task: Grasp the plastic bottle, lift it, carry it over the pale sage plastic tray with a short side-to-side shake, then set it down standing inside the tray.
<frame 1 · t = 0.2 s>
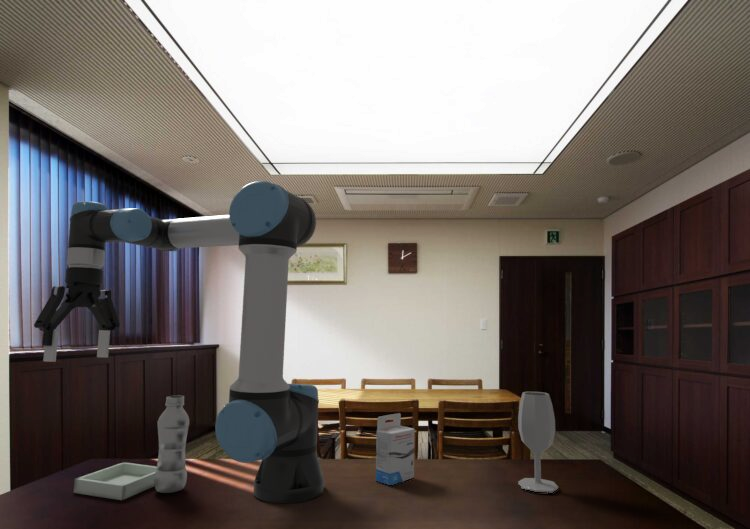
hand: (77, 359, 110), 28 cm above the table, fingers open, 13 cm apart
wineglass: (538, 489, 108), on the table
ink box: (395, 481, 112), on the table
plastic bottle: (169, 492, 103), on the table
tray: (122, 486, 106), on the table
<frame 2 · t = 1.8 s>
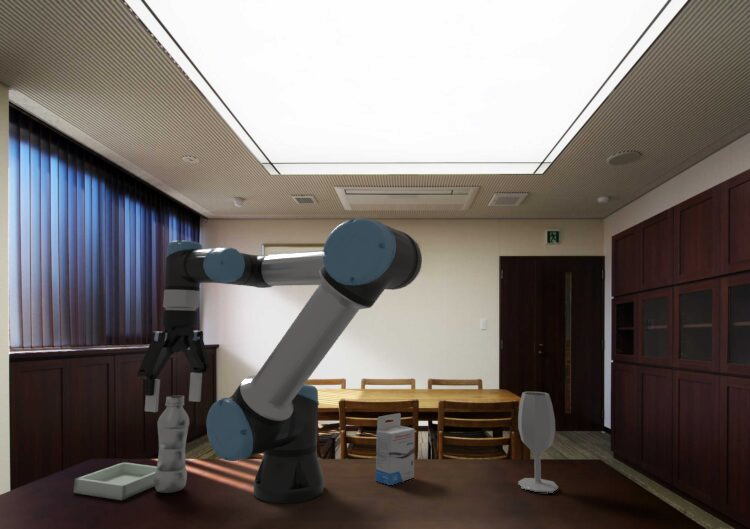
hand: (174, 406, 105), 18 cm above the table, fingers open, 13 cm apart
nothing on the table moved.
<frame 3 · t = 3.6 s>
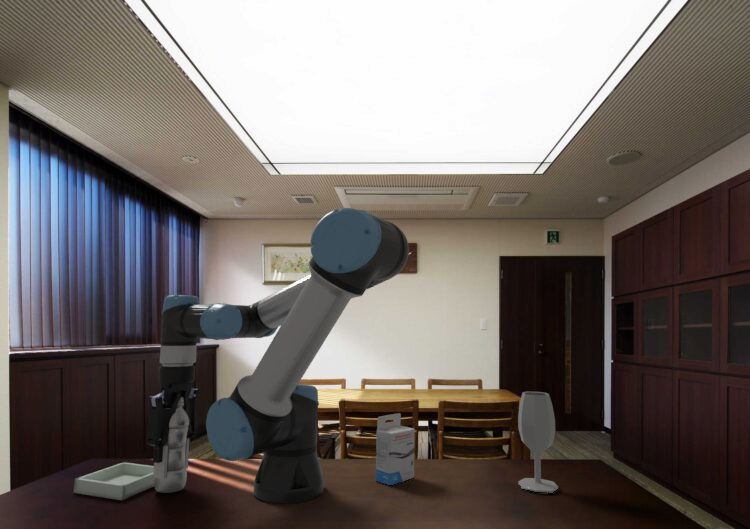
hand: (171, 472, 104), 4 cm above the table, fingers closed on plastic bottle, 6 cm apart
plastic bottle: (169, 492, 103), on the table, touching gripper
everything else where it was.
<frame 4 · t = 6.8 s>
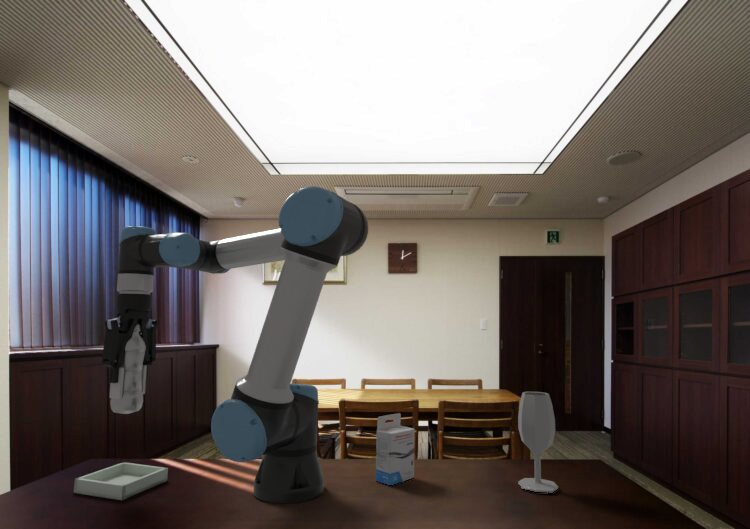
hand: (127, 395, 108), 20 cm above the table, fingers closed on plastic bottle, 6 cm apart
plastic bottle: (126, 414, 107), point 16 cm above the table, touching gripper
everything else where it was.
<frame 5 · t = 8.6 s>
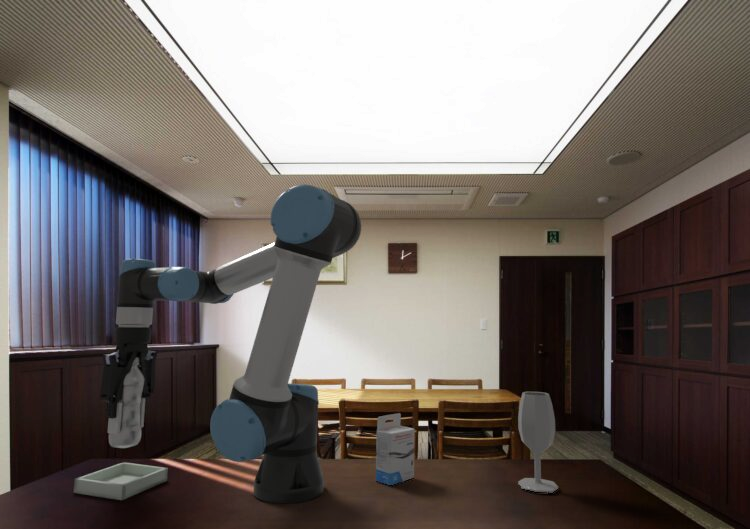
hand: (125, 429, 107), 12 cm above the table, fingers closed on plastic bottle, 6 cm apart
plastic bottle: (124, 448, 107), point 8 cm above the table, touching gripper
everything else where it was.
when the fingers open (6 cm above the table, at t = 10.1 s): plastic bottle drops 1 cm, resting on tray.
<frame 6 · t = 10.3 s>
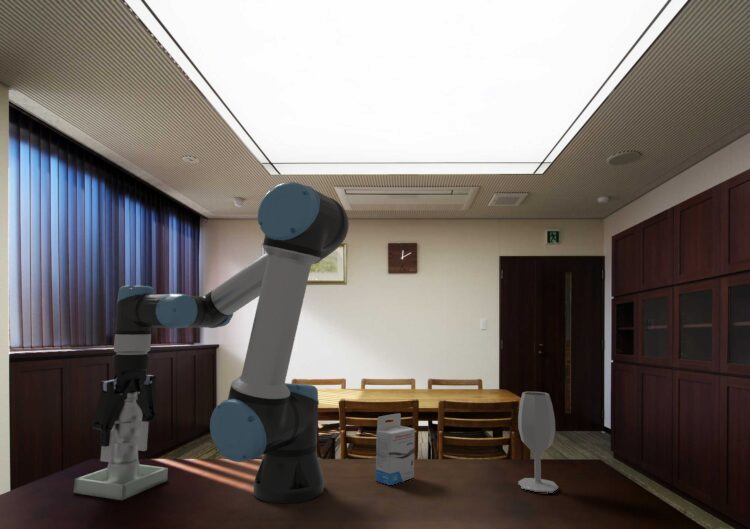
hand: (124, 455, 107), 7 cm above the table, fingers open, 9 cm apart
plastic bottle: (122, 484, 106), point 1 cm above the table, touching tray
everything else where it was.
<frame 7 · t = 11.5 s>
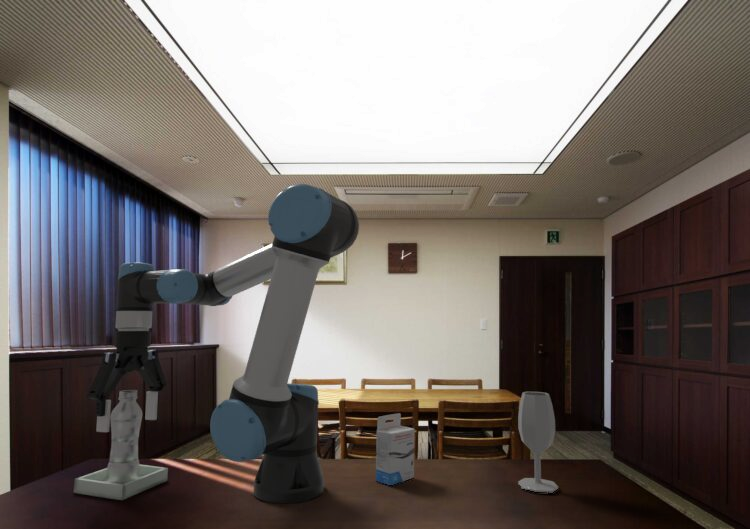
hand: (128, 425, 107), 13 cm above the table, fingers open, 13 cm apart
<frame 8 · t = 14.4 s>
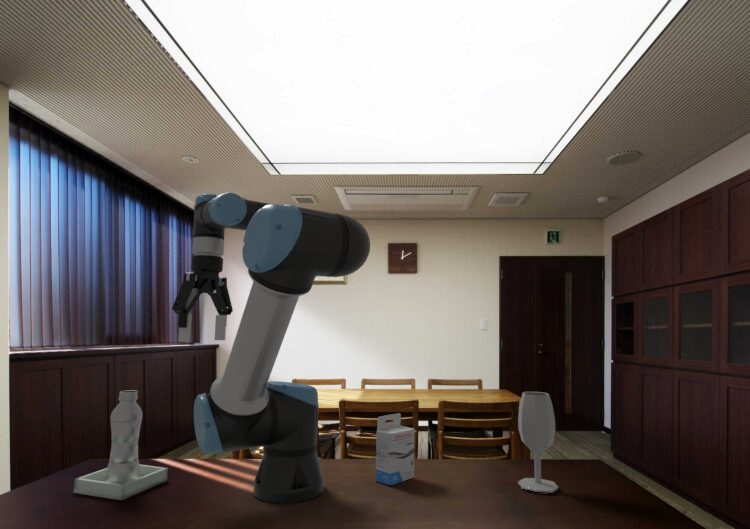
hand: (203, 341, 118), 32 cm above the table, fingers open, 13 cm apart
nothing on the table moved.
at the end: plastic bottle inside the target area on the tray (0.1 cm from its centre), point 0.4 cm above the tray's base; plastic bottle tilted 0°; the gripper is holding nothing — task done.
